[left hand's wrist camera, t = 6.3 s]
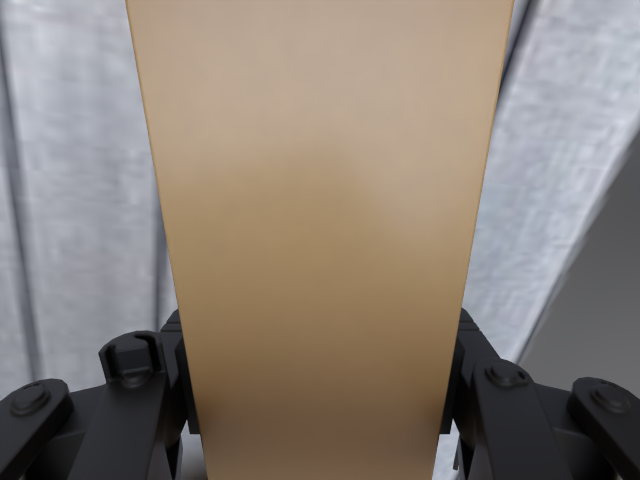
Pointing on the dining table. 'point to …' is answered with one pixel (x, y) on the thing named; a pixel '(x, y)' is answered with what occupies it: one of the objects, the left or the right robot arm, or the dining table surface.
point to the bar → (319, 218)
